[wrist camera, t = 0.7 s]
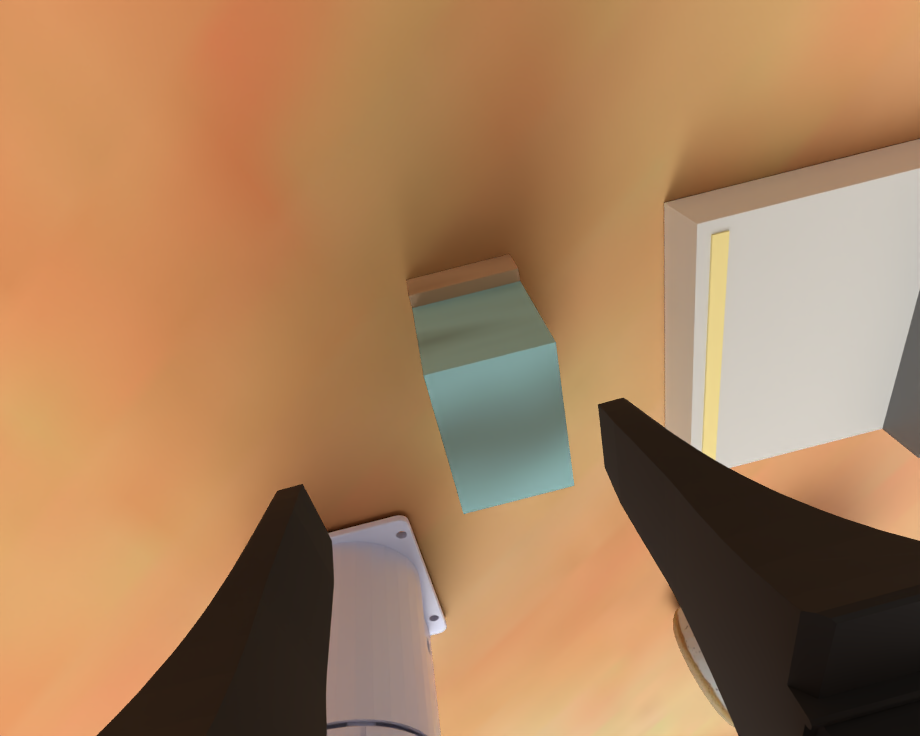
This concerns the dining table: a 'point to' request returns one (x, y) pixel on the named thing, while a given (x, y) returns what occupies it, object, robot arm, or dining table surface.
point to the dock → (796, 308)
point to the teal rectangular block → (492, 383)
